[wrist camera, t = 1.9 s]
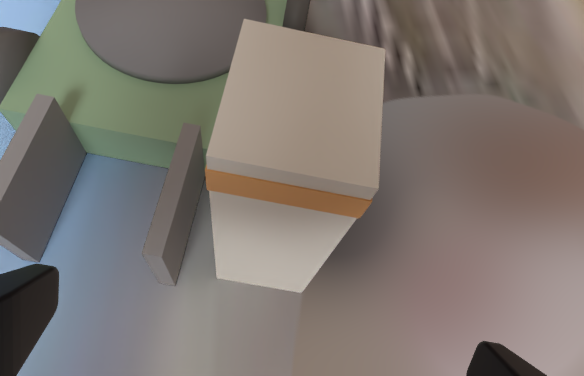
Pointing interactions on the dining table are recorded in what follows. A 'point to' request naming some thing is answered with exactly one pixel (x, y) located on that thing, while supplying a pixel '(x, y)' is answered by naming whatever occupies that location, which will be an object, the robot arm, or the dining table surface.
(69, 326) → the dining table surface
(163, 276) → the green and grey base
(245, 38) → the beige box
